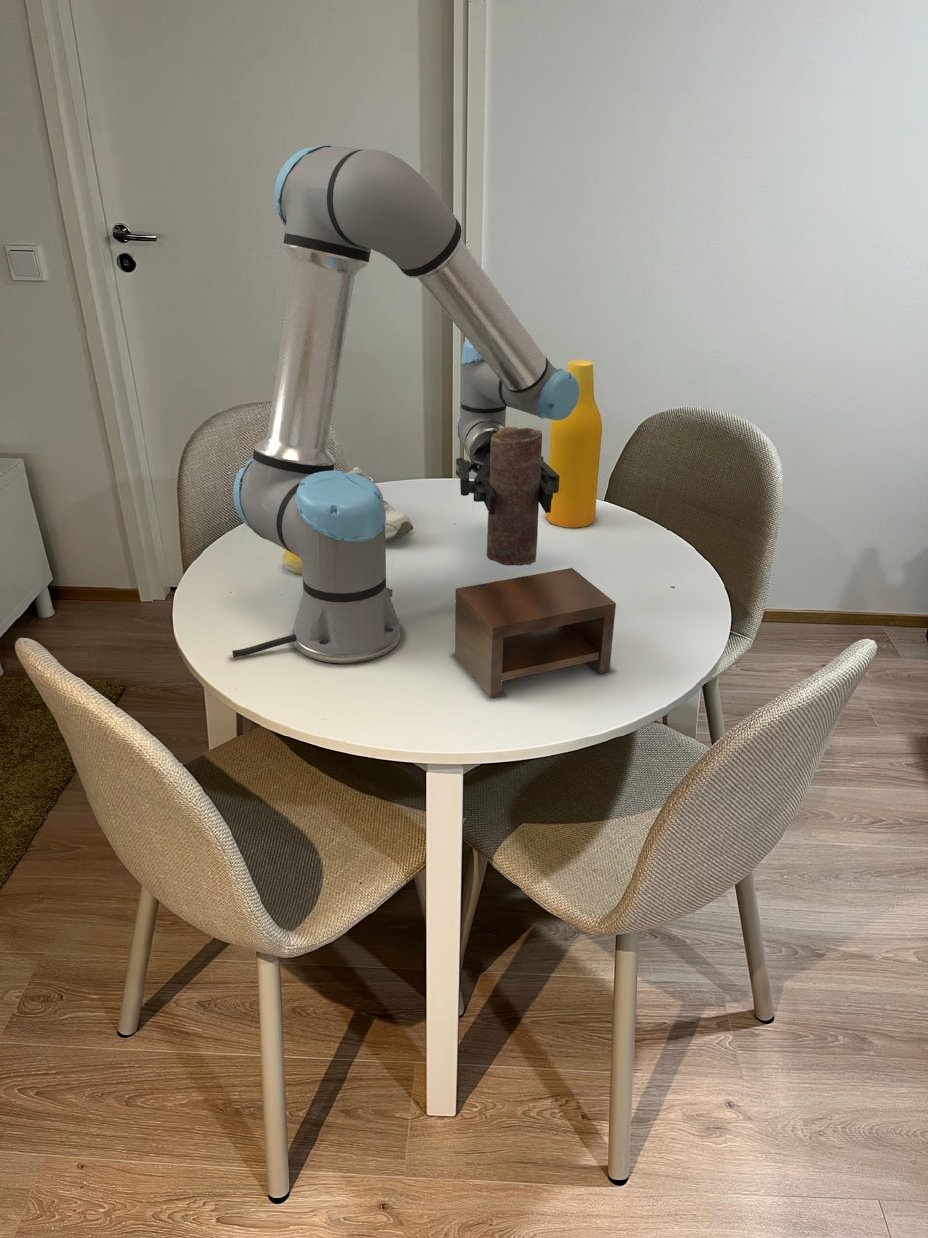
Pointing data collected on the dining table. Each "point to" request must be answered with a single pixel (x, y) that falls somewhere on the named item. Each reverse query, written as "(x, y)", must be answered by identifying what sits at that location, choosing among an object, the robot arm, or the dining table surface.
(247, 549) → the dining table surface
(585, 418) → the beer bottle
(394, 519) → the athletic shoe
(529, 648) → the shelf
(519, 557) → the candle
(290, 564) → the bread roll
